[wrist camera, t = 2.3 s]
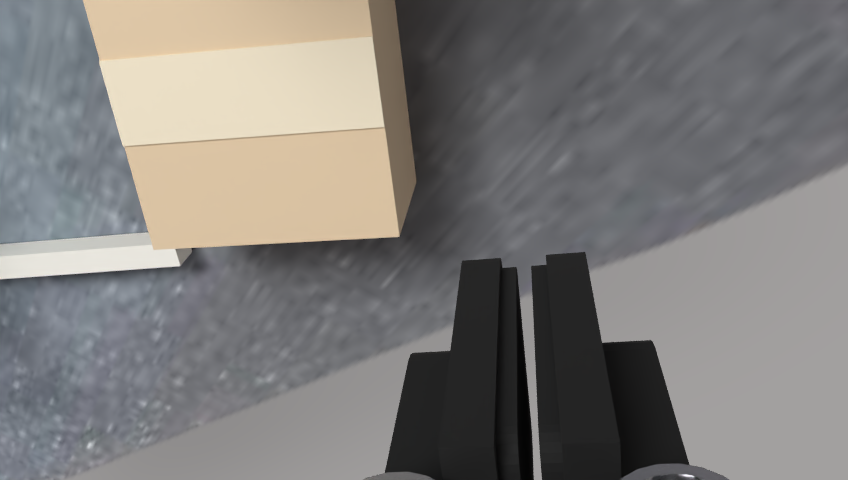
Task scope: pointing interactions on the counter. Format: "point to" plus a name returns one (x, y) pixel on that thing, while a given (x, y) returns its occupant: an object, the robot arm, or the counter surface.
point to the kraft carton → (259, 117)
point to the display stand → (86, 256)
